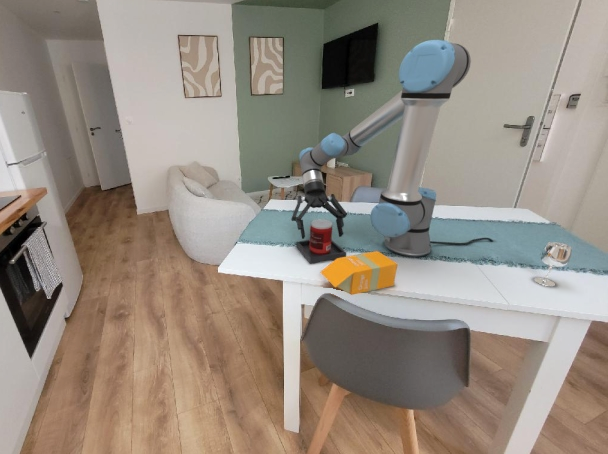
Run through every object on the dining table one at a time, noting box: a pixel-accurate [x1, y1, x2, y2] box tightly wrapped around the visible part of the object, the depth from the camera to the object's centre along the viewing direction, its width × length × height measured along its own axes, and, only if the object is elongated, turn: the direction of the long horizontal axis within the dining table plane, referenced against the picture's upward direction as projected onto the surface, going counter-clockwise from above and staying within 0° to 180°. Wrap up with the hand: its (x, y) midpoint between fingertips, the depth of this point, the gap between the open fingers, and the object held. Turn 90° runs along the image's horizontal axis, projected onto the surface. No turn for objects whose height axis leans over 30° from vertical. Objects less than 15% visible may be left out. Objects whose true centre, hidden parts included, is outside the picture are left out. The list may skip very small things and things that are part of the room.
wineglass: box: [533, 241, 573, 287], centre depth 83 cm, size 6×6×12 cm
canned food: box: [309, 218, 333, 255], centre depth 106 cm, size 8×8×11 cm
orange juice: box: [319, 250, 398, 296], centre depth 87 cm, size 8×9×20 cm
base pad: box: [295, 239, 347, 265], centre depth 108 cm, size 14×14×2 cm
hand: (322, 236), depth 104 cm, fingers open, 13 cm apart
